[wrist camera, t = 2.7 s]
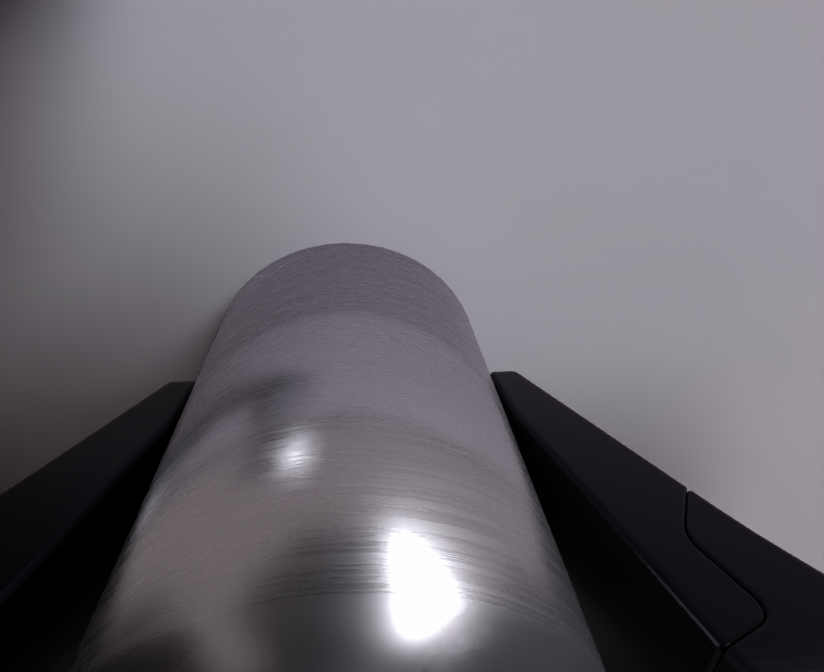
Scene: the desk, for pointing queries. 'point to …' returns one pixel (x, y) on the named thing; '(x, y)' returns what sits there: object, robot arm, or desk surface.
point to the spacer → (341, 497)
